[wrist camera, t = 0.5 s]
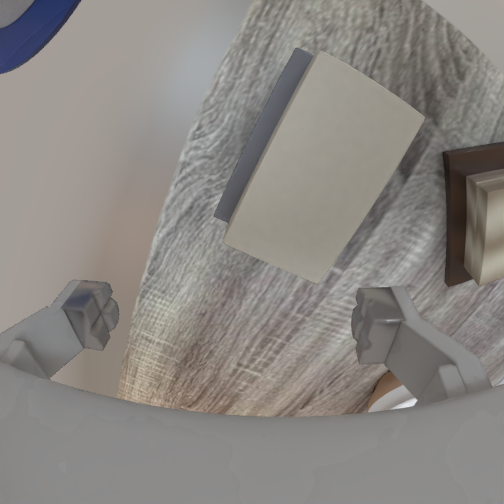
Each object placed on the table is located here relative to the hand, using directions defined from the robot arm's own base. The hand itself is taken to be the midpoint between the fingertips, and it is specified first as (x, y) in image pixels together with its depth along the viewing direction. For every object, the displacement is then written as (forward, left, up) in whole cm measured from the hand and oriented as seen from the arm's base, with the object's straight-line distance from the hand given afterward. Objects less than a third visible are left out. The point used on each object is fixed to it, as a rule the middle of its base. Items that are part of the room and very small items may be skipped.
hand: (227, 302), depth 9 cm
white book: (-1, +4, -9) cm, 10 cm away
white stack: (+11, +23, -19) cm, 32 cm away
